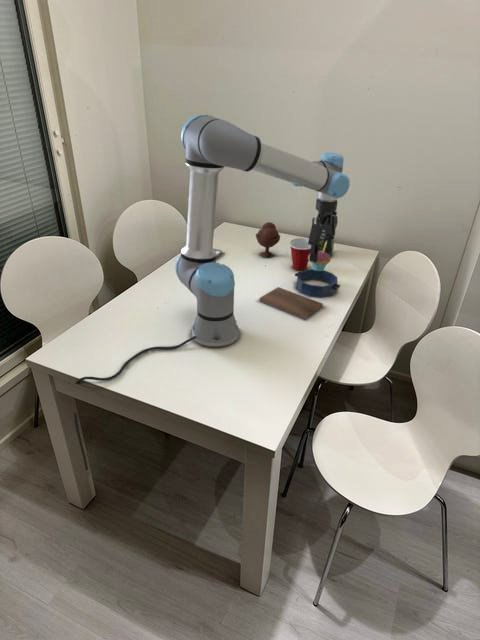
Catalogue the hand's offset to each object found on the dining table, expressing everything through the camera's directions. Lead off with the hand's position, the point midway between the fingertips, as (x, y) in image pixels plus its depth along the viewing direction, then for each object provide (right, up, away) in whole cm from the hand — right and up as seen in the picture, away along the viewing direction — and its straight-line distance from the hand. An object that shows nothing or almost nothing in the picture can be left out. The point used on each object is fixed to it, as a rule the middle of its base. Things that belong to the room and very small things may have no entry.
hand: (319, 257), depth 174 cm
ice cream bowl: (-18, +6, +34) cm, 39 cm away
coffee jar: (+8, +7, +37) cm, 38 cm away
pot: (0, -11, +7) cm, 13 cm away
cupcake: (0, -4, +3) cm, 5 cm away
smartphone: (-45, +4, +30) cm, 54 cm away
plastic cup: (-5, -2, +22) cm, 23 cm away
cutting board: (-12, -18, -5) cm, 22 cm away
